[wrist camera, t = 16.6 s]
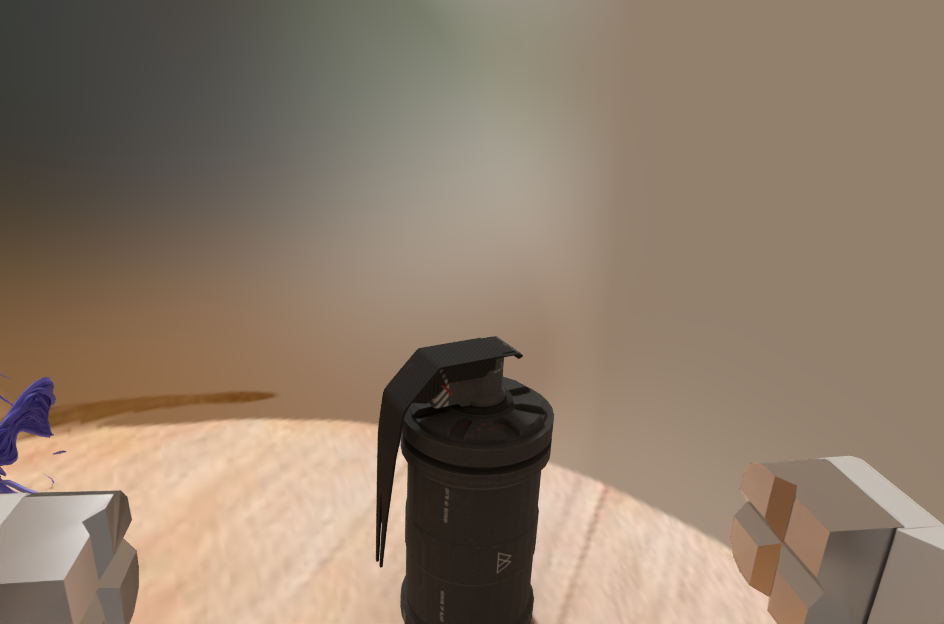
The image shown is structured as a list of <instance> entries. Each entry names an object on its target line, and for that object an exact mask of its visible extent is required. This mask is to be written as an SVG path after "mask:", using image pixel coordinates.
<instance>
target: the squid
mask: <svg viewBox="0 0 944 624" xmlns="http://www.w3.org/2000/svg"><path fill="white" fill-rule="evenodd" d="M2 376H3V375H2ZM4 377H6V376H4ZM7 378H8V377H7ZM31 393H32V394H31ZM0 398H1V399H3V400H4V401H6V402H8V401H7V400H5V399H4V398H3V397H1V396H0ZM55 400H56V398H55V395H54V394H53V382H51V381H50V378H49V377H44V378H41V379H39V380H37V381H35V382H34V383H32V384H31V385H30V386H29V387H28V388H27V389H26V390H25V391H24V392H23V393H22V394H21V395H20V397H19V398H18V399H17V400H16V402H15V403H14V404H12V403H10V402H8V403H10V404H11V405H12V407H11V409H10V410H9V412H8V413H7V415H6V416H5V418H4V419H3V421H2V422H1V423H0V466H3V465H11V464H13V463H14V462H15V461H16V460H17V458H18V451H17V448H16V439H17V435H18V433H19V432H20V431H23V432H27V433H31V434H35V435H38V436H42V437H49V438H50V436H52V435H53V434H52V432H51V430H50V424H49V421H48V415H49V414H48V413H49V410H50V408H51V406H52V405H53V404H54V403H55ZM40 411H41V412H40ZM64 452H66V451H59V452H56V453H54V454H60V453H64ZM0 474H1V475H4V476H6V475H5V474H6V473H5V472H4V471H3V469H2V468H1V467H0ZM46 476H47V475H46ZM0 477H1V476H0ZM49 478H50V477H49ZM50 479H51V480H52V478H50ZM52 482H53V484H54V481H53V480H52ZM6 485H8V486H10V487H13V488H15V489H17V490H19V491H21V492H23V493H30V494H32V493H39V492H36V491H33V490H30V489H28V488H26V487H24V486H22V485H20V484H18V483H16V482H13V481H10V480H2V479H1V478H0V494H11V493H17V492H15V491H13V490H11V489H10V488H9V487H7V486H6ZM52 486H53V485H52Z"/></svg>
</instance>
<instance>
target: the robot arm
mask: <svg viewBox="0 0 944 624" xmlns="http://www.w3.org/2000/svg"><path fill="white" fill-rule="evenodd" d="M740 490H741V492H742V494H743V496H744V497H745V499H746V501H747V502H746V503H745V504H744V506H743V507H742V508H741V509H740V510H739V511H738V512H737V513H736V514H735V515H734V518H733V524H732V531H731V544H732V551H733V557H734V559H735V562H736V564H737V567H738V569H739V571H740V573H741V574H742V576H743V577H744V578H745V580H746V581H747V583H748V584H749V585H750V586H751V587H753V588H755V589H757V590H758V591H760V592H762V593H763V594H765V595H767V596H768V597H769V601H768V612H769V613H770V614H771V616H772V617H773V619H774V620H775V621H776V623H777V624H944V525H943V524H941V522H939V521H938V520H937V519H936V518H934V517H933V516H932V515H931V514H929V513H928V512H927V511H926V510H924V509H923V508H922V507H921V506H919V505H918V504H917V503H915V502H914V501H913V500H912V499H911V498H909V497H908V496H907V495H906V494H904V493H903V492H902V491H901V490H899V489H898V488H897V487H895V486H894V485H893V484H892V483H891V482H889V481H888V480H887V479H886V478H884V477H883V476H882V475H881V474H879V473H878V472H877V471H876V470H875V469H873V468H872V467H871V466H869V465H868V464H867V463H866V462H864V461H863V460H862V459H859V458H856V457H852V456H841V457H828V458H817V459H812V460H795V461H779V462H763V463H750V464H749V466H748V467H747V469H746V470H745V472H744V473H743V477H742V481H741V486H740ZM131 521H132V518H131V513H130V508H129V503H128V498H127V496H126V495H125V494H124V493H123V492H122V491H121V490H120V491H81V492H41V493H32V494H30V493H11V494H0V624H129V623H130V621H131V618H132V616H133V613H134V609H135V604H136V599H137V593H138V588H139V565H138V558H137V550H135V549H134V548H133V547H132V546H131V545H130V544H129V543H128V542H127V541H126V540H125V539H123V537H124V535H125V533H126V531H127V529H128V527H129V525H130V523H131Z"/></svg>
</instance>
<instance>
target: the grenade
mask: <svg viewBox="0 0 944 624" xmlns="http://www.w3.org/2000/svg"><path fill="white" fill-rule="evenodd" d="M513 355H514V356H515V357H517V358H518V359H519V358H521V357H522V356H523V355H522V354H520V352H518V351H517V350H516V349H514V348H513V347H511V346H510V345H508V344H507V343H505V342H504V341H502V340H501V339H500V338H498V337H496V336H494V337H487V338H477V339H471V340H465V341H459V342H453V343H447V344H441V345H435V346H430V347H424V348H419V349H417V350H416V352H415V353H414V354H413V355H412V356H411V357H410V359H409V360H408V361H407V362H406V363H405V365H404V366H403V367H402V368H401V369H400V370H399V372H398V373H397V374H396V375H395V376H394V378H393V379H392V380H391V381H390V383H389V384H388V385H387V387H386V388H385V389H384V392H383V397H382V404H381V411H380V418H379V427H378V453H377V510H376V561H377V562H378V561H379V551H380V568H381V567H383V558H384V549H385V540H386V531H387V523H388V515H389V508H390V501H391V493H392V486H393V479H394V472H395V464H396V458H397V453H398V449H399V444H400V439H401V450H402V454H403V456H404V457H405V459H406V461H407V462H408V482H407V500H406V517H405V542H406V576H405V578H404V581H403V583H402V587H401V613H402V617H403V620H404V622H405V624H530V622H531V619H532V611H533V602H534V596H533V589H532V586H531V584H530V582H531V571H532V561H533V554H534V551H535V544H536V534H537V524H538V513H539V509H538V499H539V488H540V478H541V470H542V469H543V468H544V467H545V466H546V464H547V462H548V460H549V458H550V451H551V440H552V430H553V421H554V413H553V409H552V407H551V405H550V404H549V402H548V401H547V400H546V399H545V398H544V397H543V396H542V395H540V394H539V393H537V392H536V391H534V390H532V389H531V388H528V387H526V386H524V385H523V384H521V383H519V382H517V381H515V380H512V379H508V378H505V377H503V364H504V363H503V362H504V357H508V356H513ZM381 523H382V531H381ZM380 534H381V549H380Z"/></svg>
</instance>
